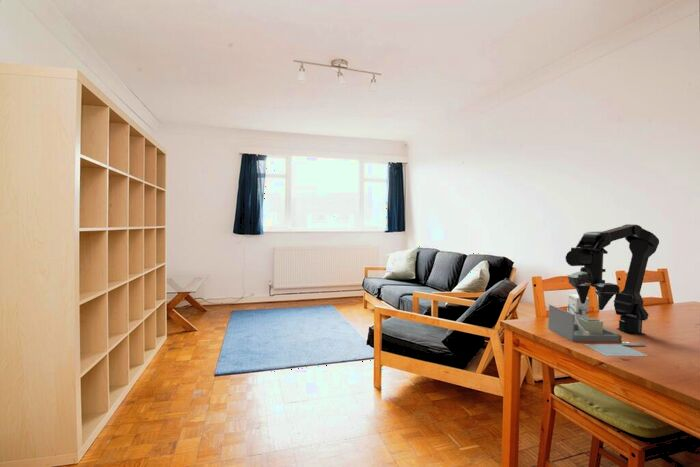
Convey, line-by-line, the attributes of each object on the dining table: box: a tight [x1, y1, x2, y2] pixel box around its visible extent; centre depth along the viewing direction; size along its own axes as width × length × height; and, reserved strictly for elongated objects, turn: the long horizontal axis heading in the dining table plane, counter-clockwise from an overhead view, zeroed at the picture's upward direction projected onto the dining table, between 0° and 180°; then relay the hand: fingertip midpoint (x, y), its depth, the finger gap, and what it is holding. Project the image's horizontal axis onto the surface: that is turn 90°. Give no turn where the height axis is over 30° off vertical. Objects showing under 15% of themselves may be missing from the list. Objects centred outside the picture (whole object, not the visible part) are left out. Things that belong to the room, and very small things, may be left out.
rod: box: [620, 341, 647, 347], centre depth 118 cm, size 8×1×1 cm, turn 91°
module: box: [578, 317, 604, 335], centre depth 128 cm, size 6×4×6 cm
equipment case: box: [547, 304, 622, 343], centre depth 129 cm, size 18×14×10 cm
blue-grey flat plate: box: [583, 343, 648, 357], centre depth 114 cm, size 14×10×1 cm
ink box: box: [566, 293, 590, 324], centre depth 145 cm, size 9×5×12 cm, turn 168°
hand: (591, 306), depth 127 cm, fingers open, 9 cm apart
